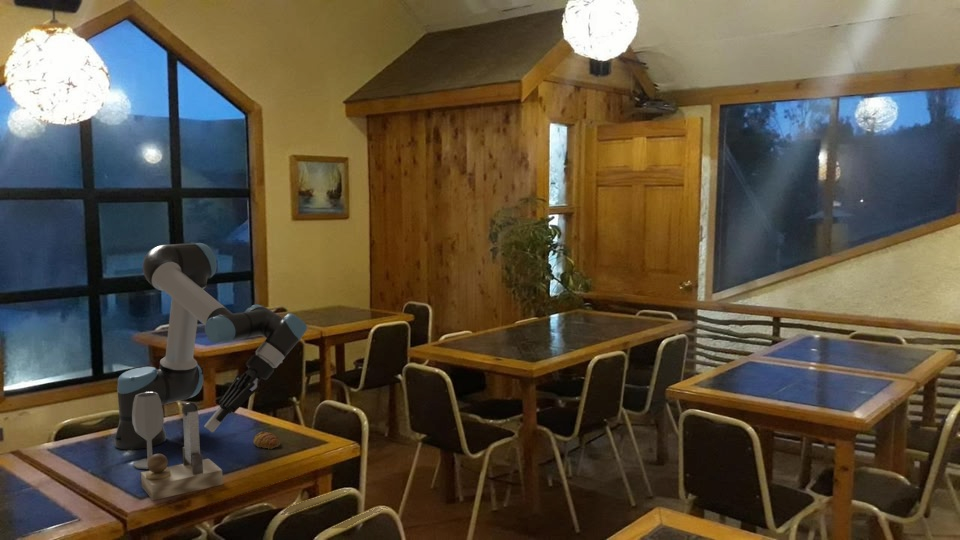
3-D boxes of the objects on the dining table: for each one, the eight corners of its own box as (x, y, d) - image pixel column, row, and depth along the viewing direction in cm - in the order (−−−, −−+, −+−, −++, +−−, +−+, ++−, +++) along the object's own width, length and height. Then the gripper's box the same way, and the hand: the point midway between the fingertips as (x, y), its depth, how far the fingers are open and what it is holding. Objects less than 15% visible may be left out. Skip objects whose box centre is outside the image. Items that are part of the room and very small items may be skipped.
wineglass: (146, 471, 219) (142, 399, 217) (127, 466, 223) (123, 395, 221) (172, 462, 226) (169, 393, 224) (154, 458, 231) (150, 389, 229)
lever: (189, 470, 205) (185, 406, 203) (181, 463, 211) (178, 400, 209) (204, 467, 207) (201, 403, 206) (196, 460, 213) (193, 398, 211)
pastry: (286, 446, 241) (285, 434, 240) (267, 452, 236) (266, 440, 235) (269, 440, 247) (268, 428, 247) (250, 445, 242) (250, 434, 242)
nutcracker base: (152, 500, 197) (150, 462, 197) (141, 486, 207) (139, 450, 206) (222, 484, 208) (221, 448, 207) (209, 472, 218) (207, 437, 217)
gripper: (282, 373, 215) (226, 442, 207) (265, 365, 226) (210, 431, 218) (263, 357, 212) (205, 427, 204) (247, 350, 222) (190, 416, 214)
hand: (208, 429), depth 211 cm, fingers closed
